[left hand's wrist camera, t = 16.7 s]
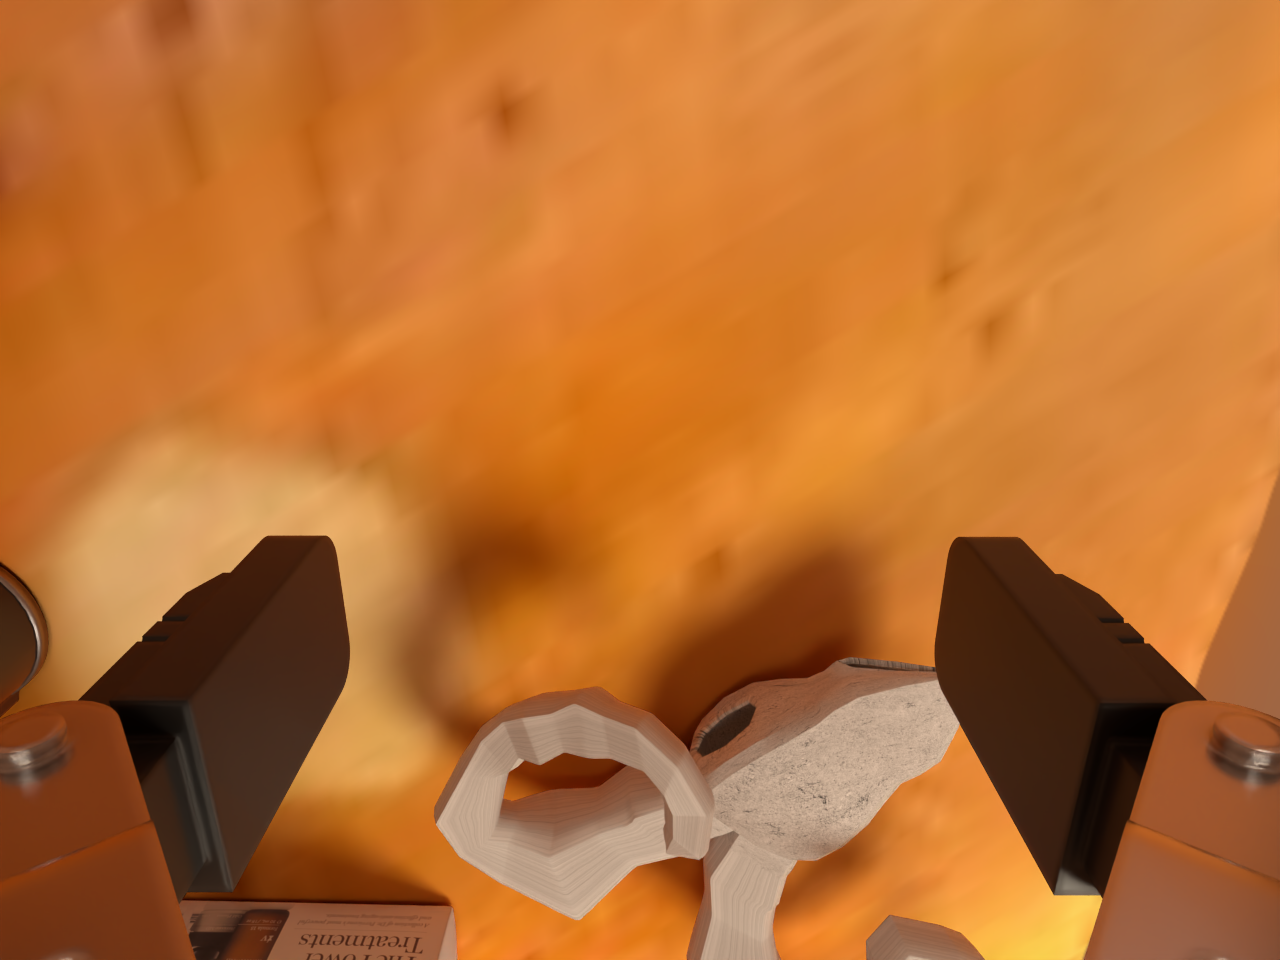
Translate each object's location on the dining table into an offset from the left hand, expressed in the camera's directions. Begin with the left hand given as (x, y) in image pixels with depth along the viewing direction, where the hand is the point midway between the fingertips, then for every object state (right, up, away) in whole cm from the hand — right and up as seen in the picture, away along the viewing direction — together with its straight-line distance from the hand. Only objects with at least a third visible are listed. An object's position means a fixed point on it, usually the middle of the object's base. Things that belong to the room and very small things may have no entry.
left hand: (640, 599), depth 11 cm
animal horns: (+7, -14, +38) cm, 42 cm away
